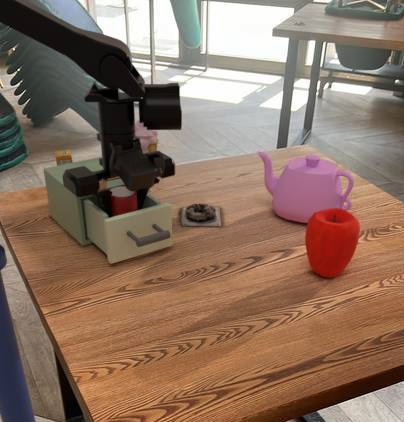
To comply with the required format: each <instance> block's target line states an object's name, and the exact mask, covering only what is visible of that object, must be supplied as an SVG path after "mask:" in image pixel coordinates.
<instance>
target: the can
mask: <svg viewBox="0 0 404 422" xmlns="http://www.w3.org/2000/svg"><path fill="white" fill-rule="evenodd" d="M110 191H112V195H111V197H110V201H111V209H112V216H113V217H114V216H118V215H122V214H126V213H130V212H134V211H137V210H138V208H137V191H130V190H128V189H127V188H126V187H115V188H112V189H110Z"/></svg>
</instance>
